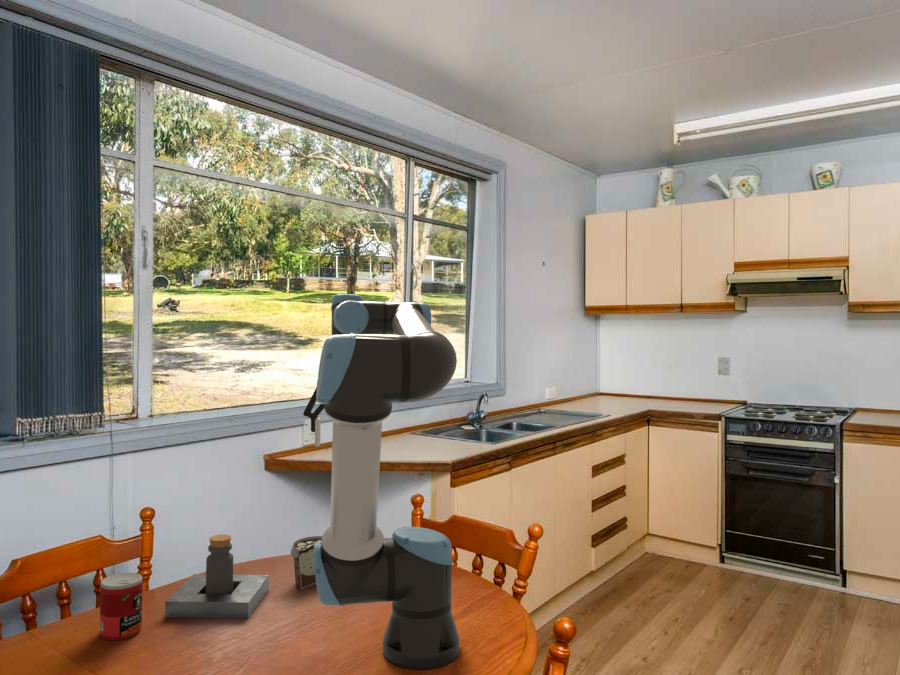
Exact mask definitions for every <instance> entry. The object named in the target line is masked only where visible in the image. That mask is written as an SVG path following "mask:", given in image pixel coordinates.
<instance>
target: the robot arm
mask: <svg viewBox="0 0 900 675" xmlns="http://www.w3.org/2000/svg"><path fill="white" fill-rule="evenodd" d="M330 310H331V335H330V336H329V337H327V338H326V339H325V341H324V343H323V346H322V348H321V355H320V360H319V365H318V372H317V373H318V375H317V381H316V388H315V389H314V391H313V394H312V395H311V398H310V399H309V401H308V403H307V405H306V407H305V409H304V411H303V413H302V415H303V416H304V417H308V418H310V431H311V433H314V447H319V446H321V421H322V420H321V418H320V417H318V416H319V415H320V414H321V413H322V412H323V411H324V412H325V415H327V416H328V417H329V418H330V419H331V420H332V443H331V444H332V446H331V447H332V449H331V450H332V451H331V478H330V479H331V480H330V481H331V484H330V486H331V488H330V522H329V524H330V526H329V527H327V528H326V530H325V531H324V532H323V534H322V535H321V536H322V541H319V542H317V543H315V544H314V566H315V577H316V583H315V585H316V591H317V597H318V600H319V602H320V603H321V604H323V605H325V606H340V607H342V606H343V607H344V606H346V605H347V606H348V605H359V604H370V603H371V604H372V603H373V604H374V603H385V602H391V606H392V607H391V613H390V616H389V619H388V622H387V626H386V628H385V631H384V635H383V638H382V654H383V656H384V658H385V659H386V660H387V661H389V662H390V663H392V664H394V665H395V666H398V667H401V668H405V669H415V670H426V669H427V670H428V669H435V668H440V667H443V666H445V665H448V664H450V663H451V662H453V661H454V660H455V659H456V658H457V657H458V656H459V654H460V647H461V646H460V643H461V642H460V639H461V638H460V635H459V633H458V629H457V626H456V623H455V619H454V617H453V616H454V615H453V612H452V583H453V582H452V580H453V579H452V577H453V576H452V575H453V573H452V572H453V571H452V569H453V563H454V560H453V554H452V553H453V552H452V547H453V546H452V542H451V541H450V538H448V536H446V535H445V534H444V533H441V532H440V531H437V530H435V529H430V528H426V527H421V526H420V527H419V526H403V527H398V528H396V529H394V530H393V532H392V534H391V536H392V537H389V538H388V537H387V538H386V537H385V538H384V533H383V531H382V530H381V529H380V528H379V527H378V526H377V525H378V524H377V523H378V522H377V521H378V505H379V504H378V503H379V502H378V501H379V488H380V487H379V484H380V471H381V470H380V469H381V466H380V465H381V450H382V449H381V448H382V432H383V421H385V420H386V419H388V418H389V417H390V415H391V414H392V409H393V404H394V403H416V402H419V401H420V402H421V401H423V400H426V399H429V398H431V397H433V396H434V395H436V394H438V393H439V392H441V391H442V390H443V389H444V388H445V387H446V386H447V385H448V384H449V383H450V382H451V380H452V378H453V377H454V375H455V373H456V372H455V371H456V368H457V364H458V363H457V361H458V360H457V353H456V350H455V347H454V345H453V344H452V342H451V341H450V340H449V339H448V338H447V337H446V336H445V335H444V334H442V333H440V332H438V331H435V329H434V328H433V327H432V311H431V306H430V305H429V304H428V303H425V302H416V301H412V302H398V301H397V302H396V301H393V302H392V301H391V302H389V301H388V302H387V301H366V300H365V301H364V299H363V296H361V295H359V294H353V293H351V294H346V293H345V294H342V293H341V294H334V295H332V299H331V306H330ZM316 403H319V405H318V406H317V408H315V410H314V411H312V410H313V408H314V407H315V405H316Z"/></svg>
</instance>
